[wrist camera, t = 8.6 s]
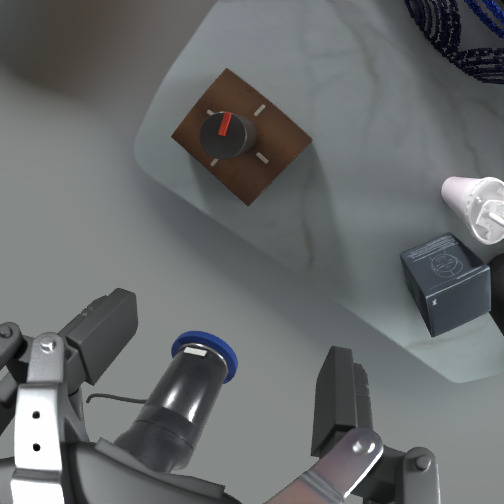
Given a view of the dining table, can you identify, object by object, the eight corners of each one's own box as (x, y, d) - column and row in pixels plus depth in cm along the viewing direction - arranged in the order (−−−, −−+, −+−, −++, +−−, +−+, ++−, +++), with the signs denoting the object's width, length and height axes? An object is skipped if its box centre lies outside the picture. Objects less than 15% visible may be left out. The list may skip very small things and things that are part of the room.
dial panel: (253, 200, 34) (247, 206, 31) (182, 136, 32) (169, 136, 30) (313, 139, 29) (312, 139, 27) (234, 73, 28) (226, 67, 25)
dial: (250, 161, 29) (237, 166, 24) (212, 149, 29) (192, 152, 25) (263, 121, 27) (252, 118, 22) (223, 110, 27) (205, 106, 23)
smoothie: (424, 178, 28) (484, 208, 15) (463, 157, 26) (533, 176, 13) (442, 225, 29) (498, 277, 17) (479, 203, 27) (544, 243, 14)
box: (408, 289, 34) (431, 339, 24) (398, 252, 32) (424, 296, 23) (457, 268, 31) (492, 311, 21) (451, 231, 29) (491, 266, 20)
